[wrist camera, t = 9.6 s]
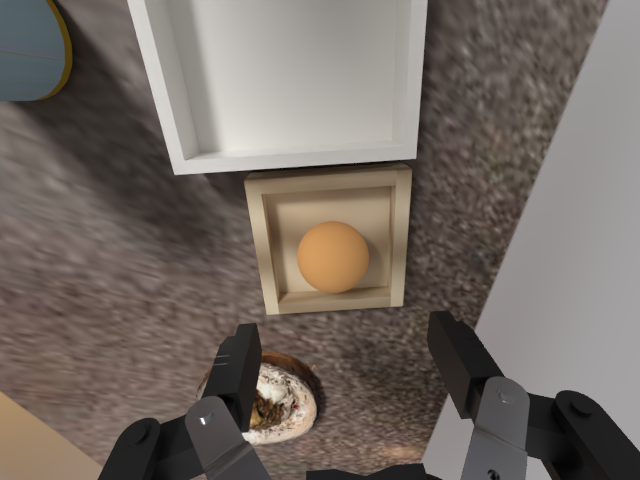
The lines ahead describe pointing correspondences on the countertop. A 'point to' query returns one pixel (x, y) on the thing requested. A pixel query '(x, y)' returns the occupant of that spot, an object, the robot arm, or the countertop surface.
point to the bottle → (32, 50)
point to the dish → (283, 80)
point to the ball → (333, 257)
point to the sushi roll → (280, 400)
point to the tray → (323, 206)
